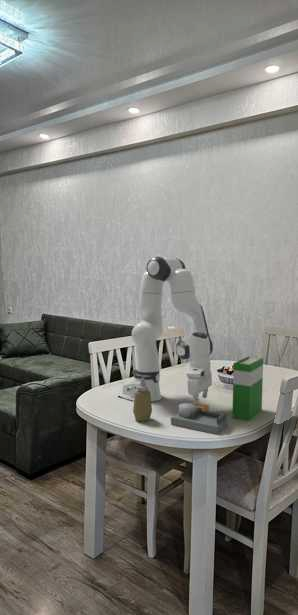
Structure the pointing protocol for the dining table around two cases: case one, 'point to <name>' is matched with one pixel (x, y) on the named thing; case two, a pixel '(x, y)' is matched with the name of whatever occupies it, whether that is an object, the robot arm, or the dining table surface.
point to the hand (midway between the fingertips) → (200, 400)
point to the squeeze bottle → (142, 402)
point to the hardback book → (247, 388)
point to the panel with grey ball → (199, 419)
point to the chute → (202, 406)
